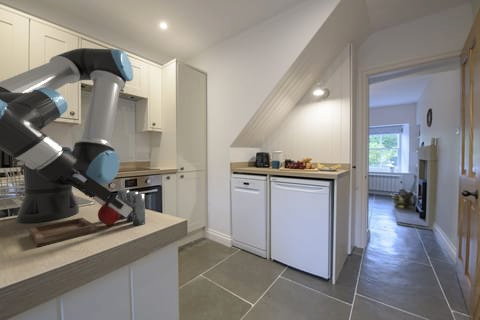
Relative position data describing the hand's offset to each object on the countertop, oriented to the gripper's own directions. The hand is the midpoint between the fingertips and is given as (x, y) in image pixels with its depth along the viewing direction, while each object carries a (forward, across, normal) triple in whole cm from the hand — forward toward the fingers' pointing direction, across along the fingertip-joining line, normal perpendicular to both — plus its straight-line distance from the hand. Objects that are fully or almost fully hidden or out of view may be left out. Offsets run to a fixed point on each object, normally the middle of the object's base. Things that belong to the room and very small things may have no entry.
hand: (120, 209), depth 61 cm
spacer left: (+5, -5, -1) cm, 7 cm away
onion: (+1, 0, -5) cm, 5 cm away
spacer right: (+5, +5, -1) cm, 7 cm away
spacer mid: (+5, 0, 0) cm, 5 cm away
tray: (-6, -3, -12) cm, 14 cm away
